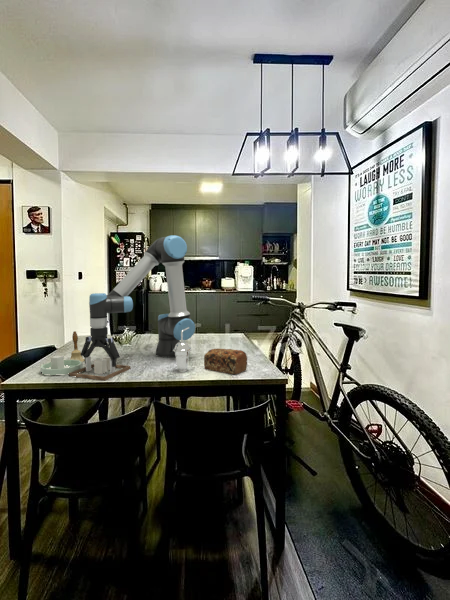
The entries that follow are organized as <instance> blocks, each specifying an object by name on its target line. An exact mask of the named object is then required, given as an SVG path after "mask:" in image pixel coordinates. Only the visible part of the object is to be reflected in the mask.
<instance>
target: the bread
mask: <svg viewBox="0 0 450 600" xmlns="http://www.w3.org/2000/svg"><path fill="white" fill-rule="evenodd" d="M203 365H204V366H203V367H204V370H207V369H208V371H213V372H218V373H222V372H223V373H225V374H227V373H228V375H239V374H241V373H243V372H245V371H247V367H248V356H247V353H246V352H245V351H243V350H239V349H233V348H232V349H231V348H212V349H209V350H208V351H207V352H206V353H205V354H204V356H203Z"/></svg>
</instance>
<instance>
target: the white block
mask: <svg viewBox="0 0 450 600" xmlns="http://www.w3.org/2000/svg"><path fill="white" fill-rule="evenodd" d="M93 364H94V368H93V371H94V374H95V375H97V374H98V375H103V373H104V374H105V372H106V373H107V372H108V370H107V359H103V358H97V359H95V360H94V361H93Z"/></svg>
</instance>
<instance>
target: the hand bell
mask: <svg viewBox="0 0 450 600" xmlns="http://www.w3.org/2000/svg"><path fill="white" fill-rule="evenodd" d="M78 340H79V337H78V333H77V331H73V333H72V341H73V348H74V349H73V350H72V351H71V355H70V359H69V360H79V361H81V362H82V363H84V362H85V358H84V356H81V352H82V350H79V347H78ZM83 361H84V362H83Z"/></svg>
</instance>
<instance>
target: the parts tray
mask: <svg viewBox="0 0 450 600" xmlns="http://www.w3.org/2000/svg"><path fill="white" fill-rule="evenodd" d="M93 367H94V363H93V364H92V363H91V368H92V369H94V368H93ZM121 368H123V369H121ZM115 369H119V370H117V371H116V370H115V372H114V373H111V374H110V373H109V374H107V375H105V376H102V375H96V374H95V375H94V374H86V373H85V374H84V373H83V372H82V371H84V372H86V371H85V370H86V366H84V367H83V368H82V369H79V370H76V371H73V372H71V373H69V375H70V376H76V377H75V378H78V377H82V378H81V379H86V378H88V379H89V380H95V379H96V380H95V381H107V380H110V379H111V378H114V377H116V376H119V375H121V374H122V373H125V372H127V371H129V369H130V370H131V365H126V364H116V366H115ZM79 372H81V373H79ZM77 373H78V374H77ZM82 373H83V374H82ZM120 373H121V374H120ZM69 375H68V376H69ZM109 378H110V379H109Z"/></svg>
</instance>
